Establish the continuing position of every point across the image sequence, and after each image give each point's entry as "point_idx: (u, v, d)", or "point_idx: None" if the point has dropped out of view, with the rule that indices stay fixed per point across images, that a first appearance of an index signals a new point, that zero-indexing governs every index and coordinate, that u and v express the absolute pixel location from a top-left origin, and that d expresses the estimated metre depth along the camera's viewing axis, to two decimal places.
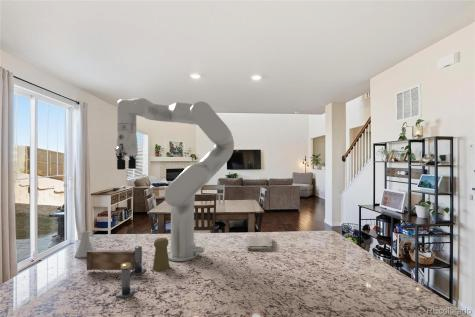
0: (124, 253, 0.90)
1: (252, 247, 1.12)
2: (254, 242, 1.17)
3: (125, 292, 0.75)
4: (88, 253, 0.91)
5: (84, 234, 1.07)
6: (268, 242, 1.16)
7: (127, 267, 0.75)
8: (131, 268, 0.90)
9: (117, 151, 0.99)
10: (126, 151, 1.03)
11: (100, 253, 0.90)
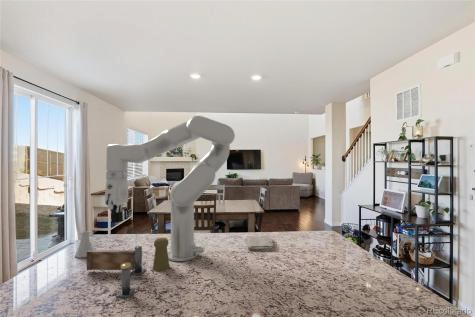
0: (124, 253, 0.90)
1: (253, 247, 1.12)
2: (255, 242, 1.17)
3: (125, 292, 0.75)
4: (88, 253, 0.91)
5: (84, 234, 1.07)
6: (269, 242, 1.17)
7: (127, 267, 0.75)
8: (131, 268, 0.90)
9: (110, 209, 0.95)
10: (115, 202, 0.94)
11: (100, 253, 0.90)
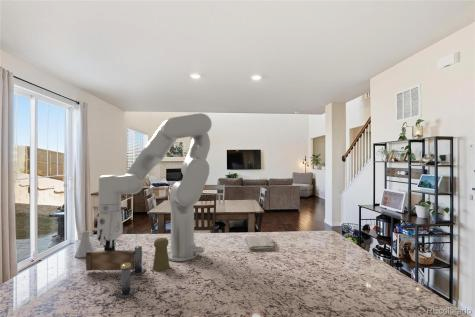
0: (124, 253, 0.90)
1: (255, 247, 1.12)
2: (255, 242, 1.17)
3: (125, 292, 0.75)
4: (87, 253, 0.90)
5: (84, 234, 1.07)
6: (269, 242, 1.17)
7: (127, 267, 0.75)
8: (131, 268, 0.90)
9: (103, 245, 0.90)
10: (108, 238, 0.89)
11: (100, 253, 0.90)
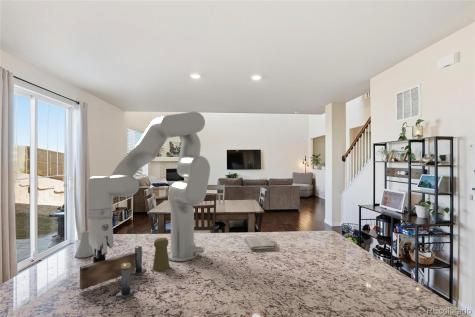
0: (126, 256, 0.87)
1: (256, 247, 1.12)
2: (256, 242, 1.17)
3: (125, 292, 0.75)
4: (84, 269, 0.77)
5: (84, 234, 1.07)
6: (270, 242, 1.17)
7: (127, 267, 0.75)
8: (133, 270, 0.89)
9: (104, 253, 0.81)
10: (112, 244, 0.82)
11: (99, 265, 0.80)
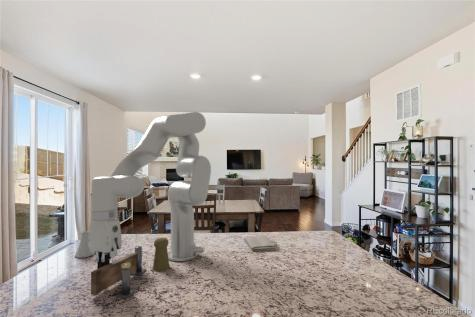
0: (130, 257, 0.86)
1: (257, 248, 1.11)
2: (256, 242, 1.17)
3: (125, 292, 0.75)
4: (97, 273, 0.74)
5: (84, 234, 1.07)
6: (270, 241, 1.17)
7: (127, 267, 0.75)
8: (135, 270, 0.89)
9: None
10: (120, 245, 0.81)
11: (109, 267, 0.78)
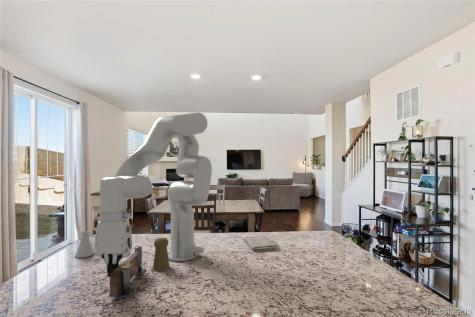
0: (135, 257, 0.86)
1: (258, 248, 1.11)
2: (256, 242, 1.17)
3: (125, 292, 0.75)
4: (117, 275, 0.73)
5: (84, 234, 1.07)
6: (270, 241, 1.18)
7: (127, 267, 0.75)
8: (137, 270, 0.89)
9: None
10: (131, 245, 0.81)
11: None
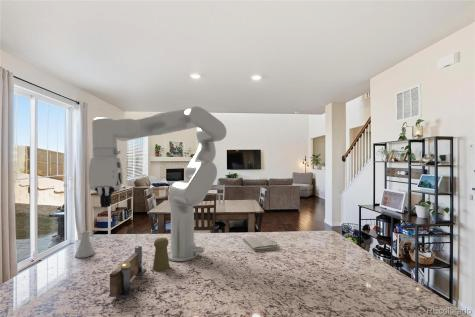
0: (135, 257, 0.86)
1: (259, 248, 1.11)
2: (257, 242, 1.17)
3: (125, 292, 0.75)
4: (117, 275, 0.73)
5: (84, 234, 1.07)
6: (270, 241, 1.18)
7: (127, 267, 0.75)
8: (137, 270, 0.89)
9: None
10: (122, 181, 0.89)
11: None
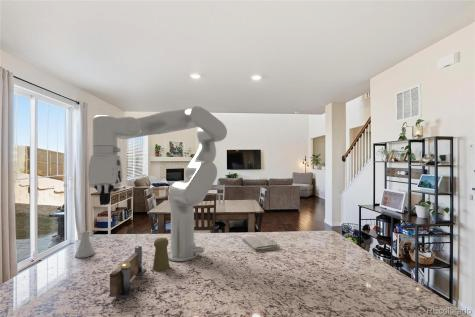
0: (135, 257, 0.86)
1: (260, 248, 1.11)
2: (257, 242, 1.17)
3: (125, 292, 0.75)
4: (117, 275, 0.73)
5: (84, 234, 1.07)
6: (271, 241, 1.18)
7: (127, 267, 0.75)
8: (137, 270, 0.89)
9: None
10: None
11: None
